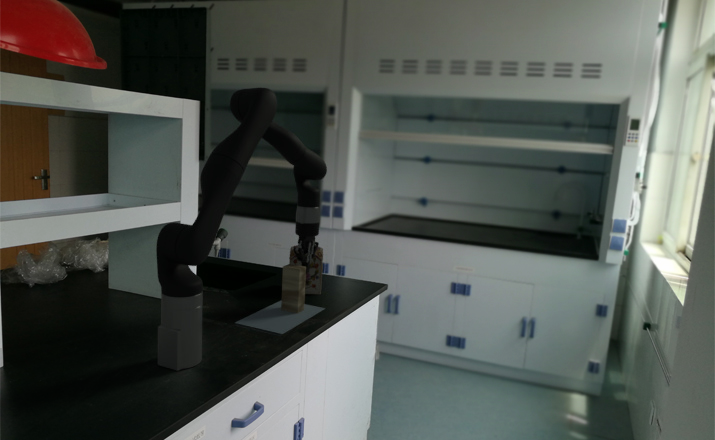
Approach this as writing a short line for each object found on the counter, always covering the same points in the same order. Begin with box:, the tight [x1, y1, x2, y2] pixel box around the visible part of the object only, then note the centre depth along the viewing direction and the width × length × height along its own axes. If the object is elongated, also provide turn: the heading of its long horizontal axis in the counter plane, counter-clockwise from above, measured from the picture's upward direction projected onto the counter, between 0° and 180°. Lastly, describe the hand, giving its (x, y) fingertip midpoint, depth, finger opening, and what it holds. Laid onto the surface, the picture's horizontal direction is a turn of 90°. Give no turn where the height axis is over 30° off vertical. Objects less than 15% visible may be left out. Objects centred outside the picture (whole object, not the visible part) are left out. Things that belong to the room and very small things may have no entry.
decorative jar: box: [288, 244, 324, 295], centre depth 185 cm, size 12×12×18 cm
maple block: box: [280, 263, 306, 313], centre depth 162 cm, size 4×6×14 cm, turn 66°
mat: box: [234, 299, 326, 337], centre depth 158 cm, size 26×16×1 cm, turn 157°
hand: (305, 272), depth 168 cm, fingers closed
